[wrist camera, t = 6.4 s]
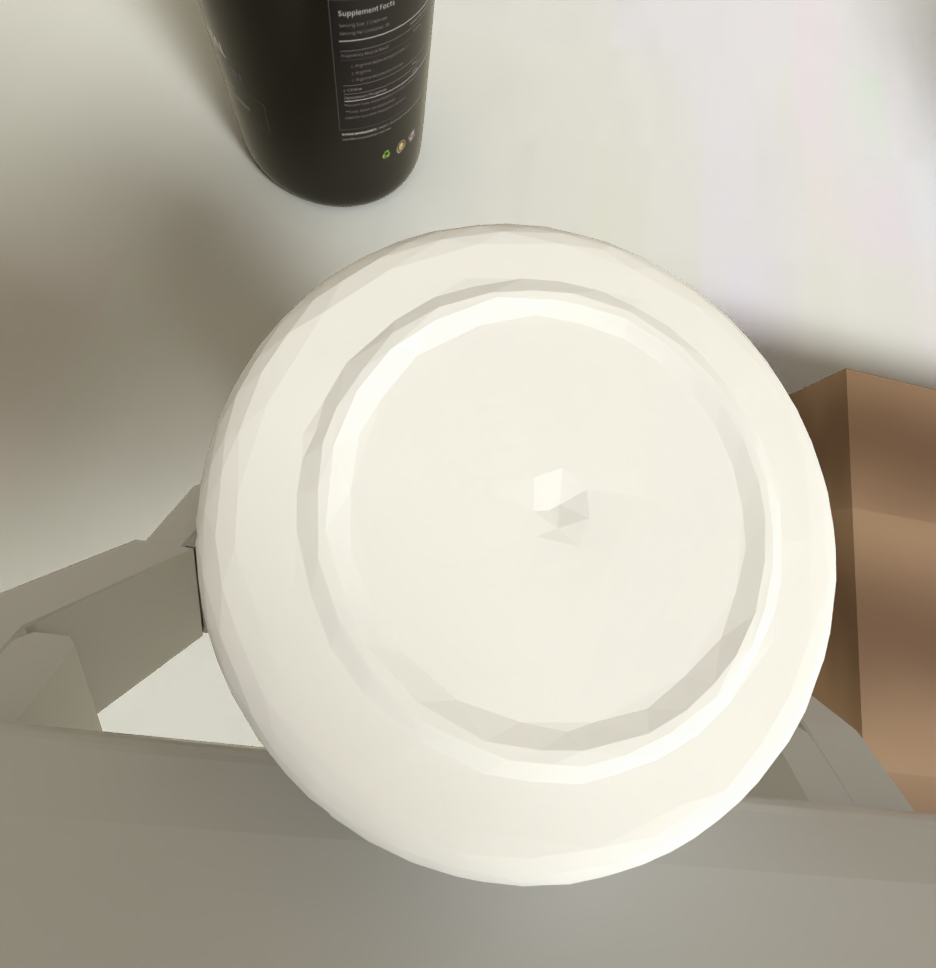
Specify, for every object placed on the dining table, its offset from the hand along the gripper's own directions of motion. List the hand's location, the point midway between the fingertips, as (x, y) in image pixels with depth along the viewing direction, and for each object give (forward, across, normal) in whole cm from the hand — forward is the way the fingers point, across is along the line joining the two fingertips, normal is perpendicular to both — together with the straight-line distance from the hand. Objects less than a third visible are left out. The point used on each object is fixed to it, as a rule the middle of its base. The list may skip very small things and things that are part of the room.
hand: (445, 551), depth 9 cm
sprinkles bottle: (+5, 0, +5) cm, 7 cm away
